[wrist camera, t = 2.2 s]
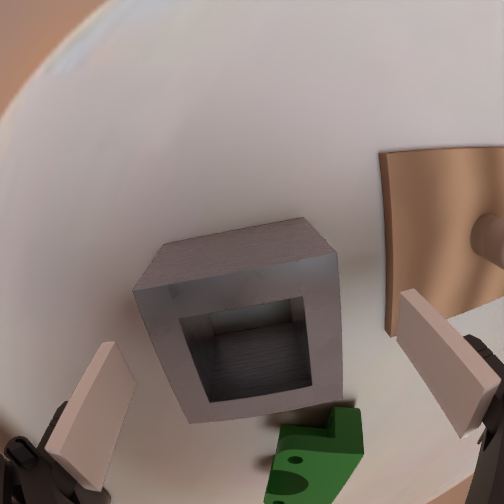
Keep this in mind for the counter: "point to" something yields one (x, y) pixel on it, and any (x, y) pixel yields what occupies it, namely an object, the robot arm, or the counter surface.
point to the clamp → (315, 459)
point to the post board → (443, 228)
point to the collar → (254, 340)
